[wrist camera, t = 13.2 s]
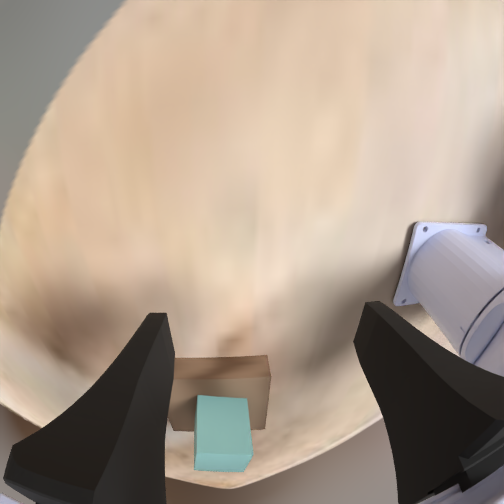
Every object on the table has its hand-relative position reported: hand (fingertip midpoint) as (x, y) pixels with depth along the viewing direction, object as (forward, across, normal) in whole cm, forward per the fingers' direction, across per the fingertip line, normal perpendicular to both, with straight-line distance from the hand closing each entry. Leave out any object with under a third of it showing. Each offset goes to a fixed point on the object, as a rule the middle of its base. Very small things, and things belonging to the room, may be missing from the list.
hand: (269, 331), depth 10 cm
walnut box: (+11, +3, +18) cm, 21 cm away
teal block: (+8, +3, +18) cm, 20 cm away
